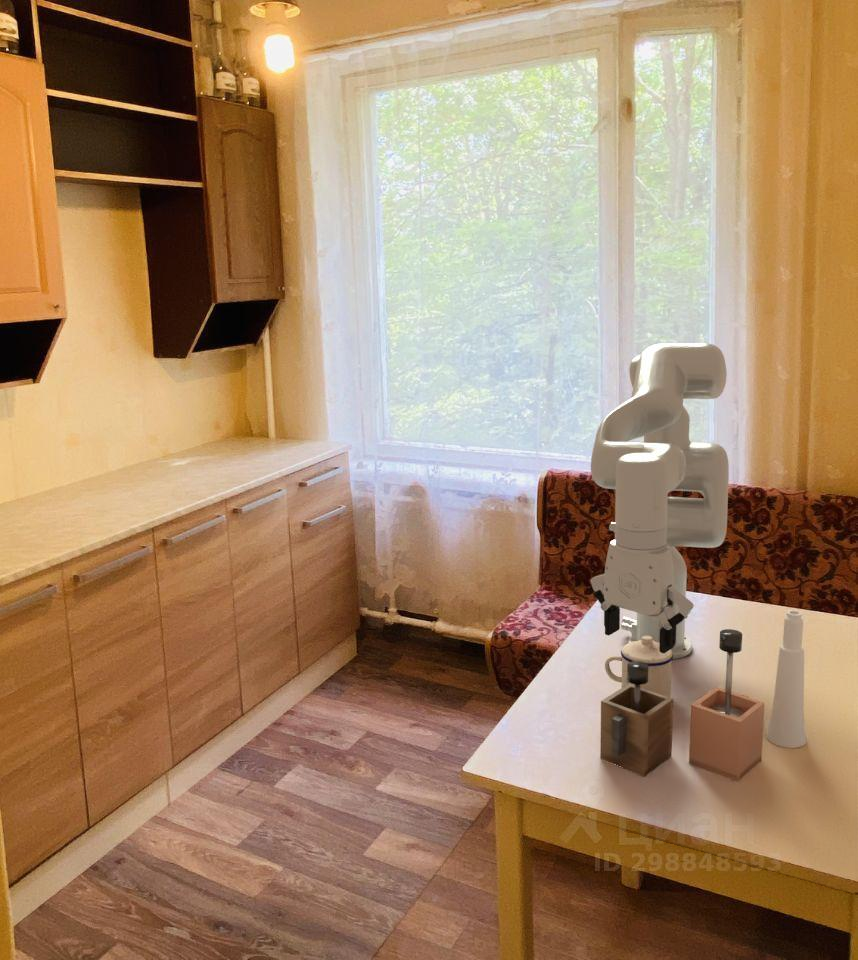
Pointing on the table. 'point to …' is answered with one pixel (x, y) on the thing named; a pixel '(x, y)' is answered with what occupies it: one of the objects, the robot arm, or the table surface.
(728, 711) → the black knobbed plunger
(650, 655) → the teacup with lid
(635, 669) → the dark metallic plunger
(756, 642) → the table surface
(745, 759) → the square planter pot
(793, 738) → the cosmetic bottle
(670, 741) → the wooden handled box
